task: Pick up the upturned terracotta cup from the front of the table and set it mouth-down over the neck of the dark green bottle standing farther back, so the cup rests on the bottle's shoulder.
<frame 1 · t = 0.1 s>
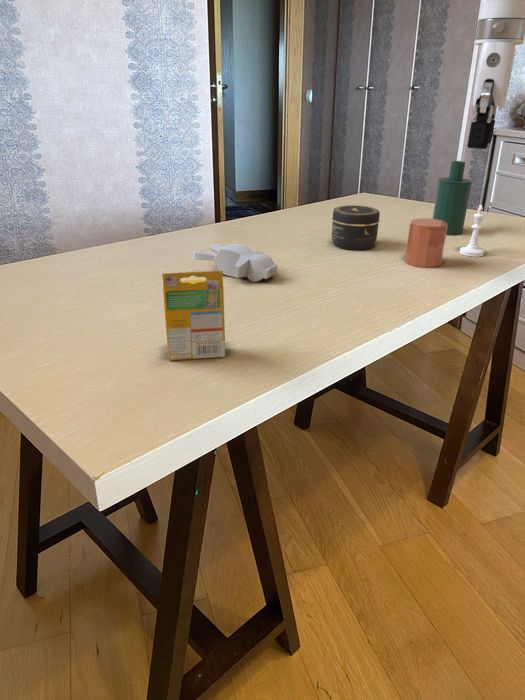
hand: (479, 145, 94), 22 cm above the table, tool pointing down, fingers open, 9 cm apart
cup: (422, 262, 106), on the table
jar: (353, 245, 116), on the table
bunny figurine: (236, 274, 98), on the table
bottle: (446, 231, 128), on the table
chess piece: (471, 254, 112), on the table
crayon box: (196, 355, 69), on the table
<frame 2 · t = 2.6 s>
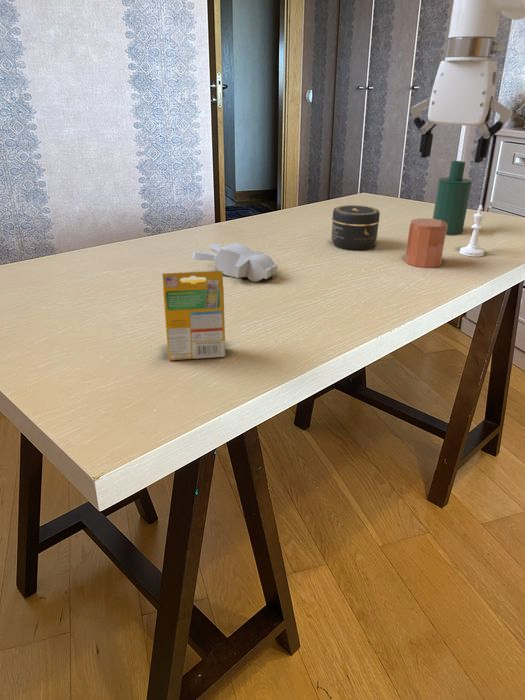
hand: (451, 159, 96), 20 cm above the table, tool pointing down, fingers open, 9 cm apart
nothing on the table moved.
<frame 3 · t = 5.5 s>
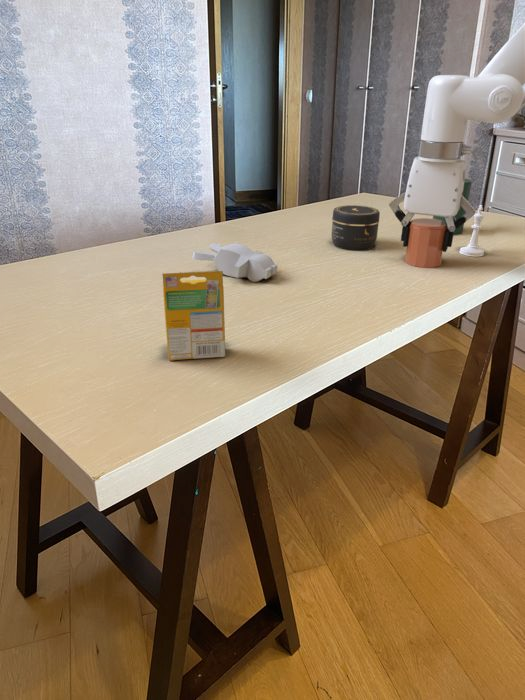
hand: (425, 246, 104), 3 cm above the table, tool pointing down, fingers closed on cup, 6 cm apart
cup: (422, 262, 106), on the table, touching gripper
everything else where it was.
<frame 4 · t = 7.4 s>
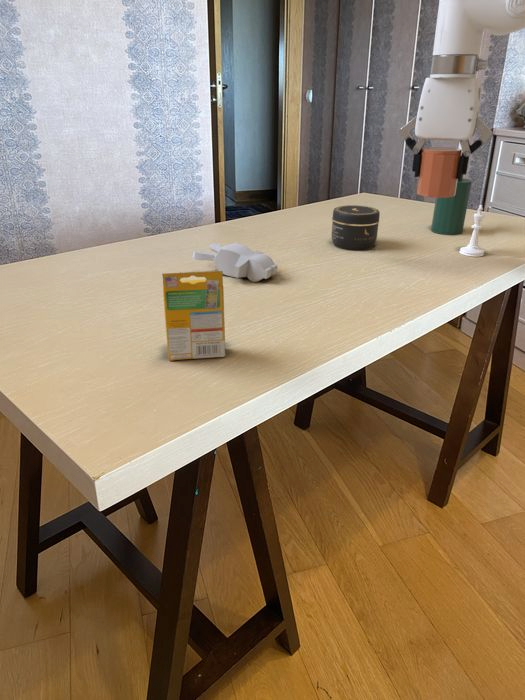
hand: (438, 176, 98), 16 cm above the table, tool pointing down, fingers closed on cup, 6 cm apart
cup: (435, 194, 99), point 13 cm above the table, touching gripper
everything else where it was.
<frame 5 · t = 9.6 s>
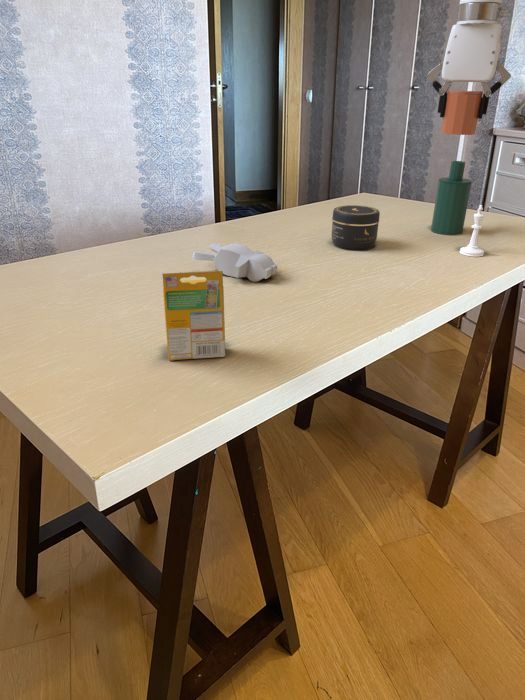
hand: (461, 116, 110), 26 cm above the table, tool pointing down, fingers closed on cup, 6 cm apart
cup: (458, 133, 111), point 23 cm above the table, touching gripper
everything else where it was.
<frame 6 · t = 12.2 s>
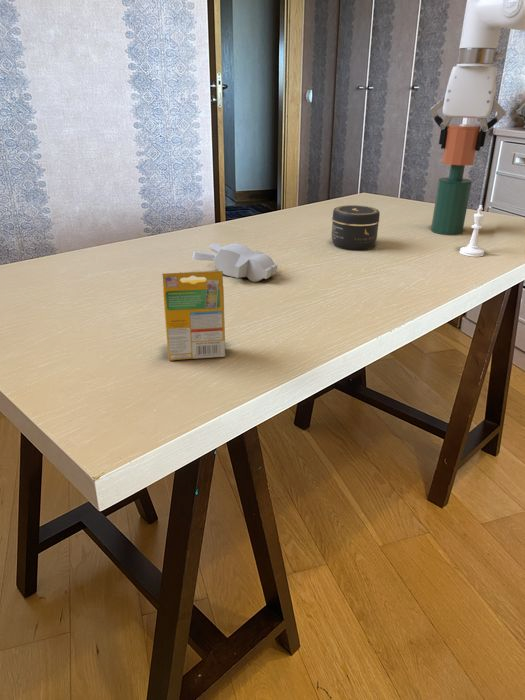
hand: (460, 148, 119), 19 cm above the table, tool pointing down, fingers closed on cup, 6 cm apart
cup: (457, 163, 121), point 16 cm above the table, touching gripper
everything else where it was.
when the fingers open (15 cm above the table, at t = 13.9 s): cup stays where it is, resting on bottle.
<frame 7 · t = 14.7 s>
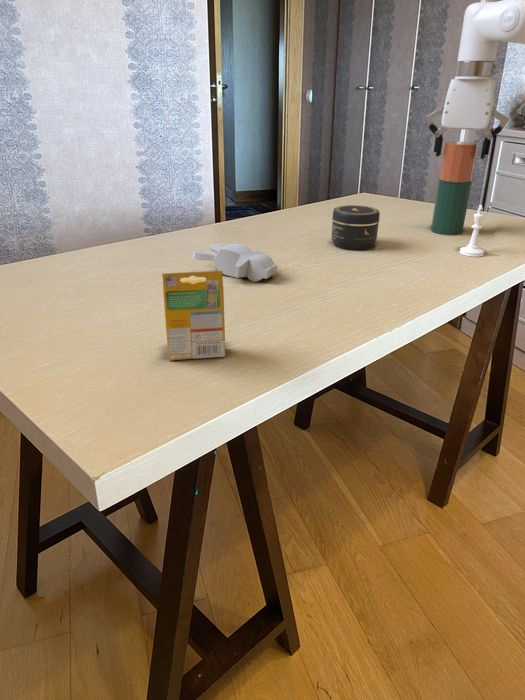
hand: (460, 157, 120), 17 cm above the table, tool pointing down, fingers open, 9 cm apart
cup: (455, 179, 123), point 12 cm above the table, touching bottle
everything else where it was.
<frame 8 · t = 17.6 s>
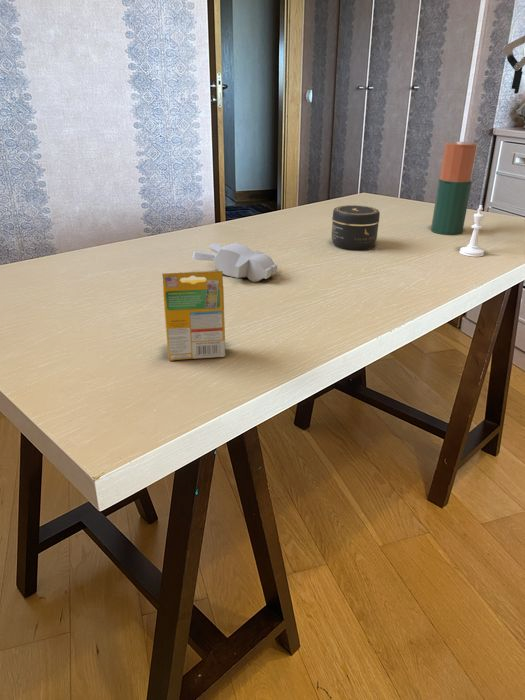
nothing on the table moved.
at the end: cup 0.1 cm off-centre in the bottle, point 12.0 cm above the bottle's base; cup tilted 0°; the gripper is holding nothing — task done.
